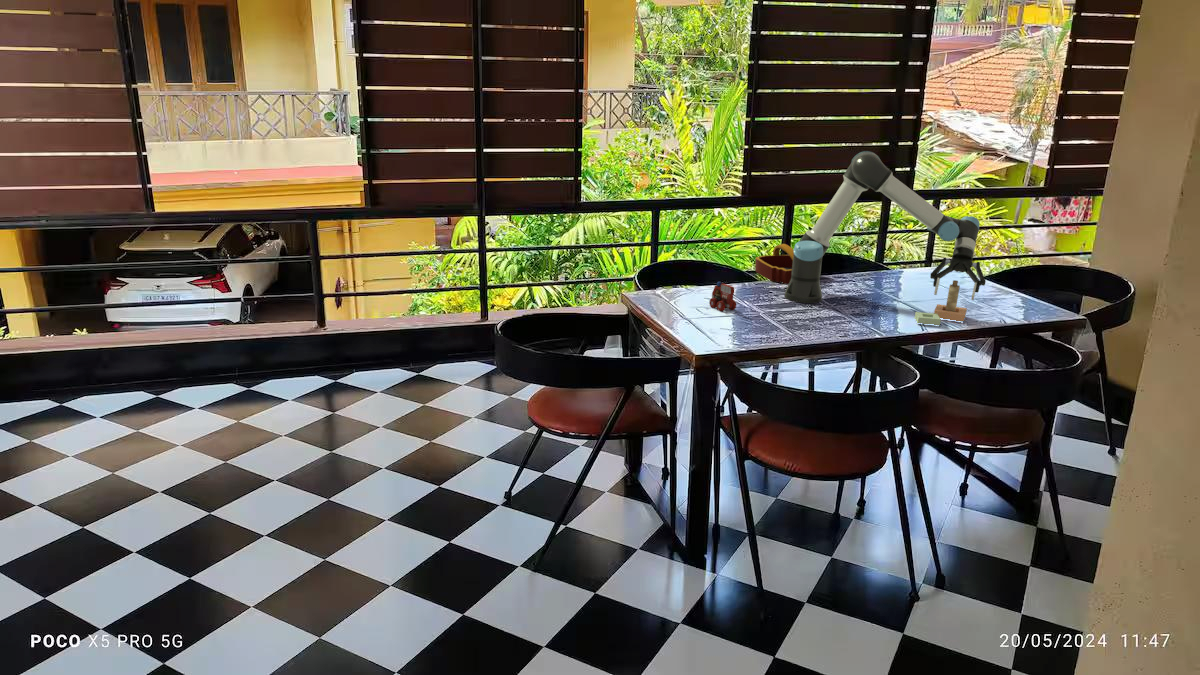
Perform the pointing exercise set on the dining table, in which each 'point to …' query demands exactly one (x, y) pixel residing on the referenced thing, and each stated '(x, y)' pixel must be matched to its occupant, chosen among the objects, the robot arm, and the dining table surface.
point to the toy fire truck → (722, 297)
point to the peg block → (952, 296)
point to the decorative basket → (776, 265)
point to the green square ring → (927, 318)
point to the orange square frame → (950, 313)
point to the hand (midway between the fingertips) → (953, 295)
